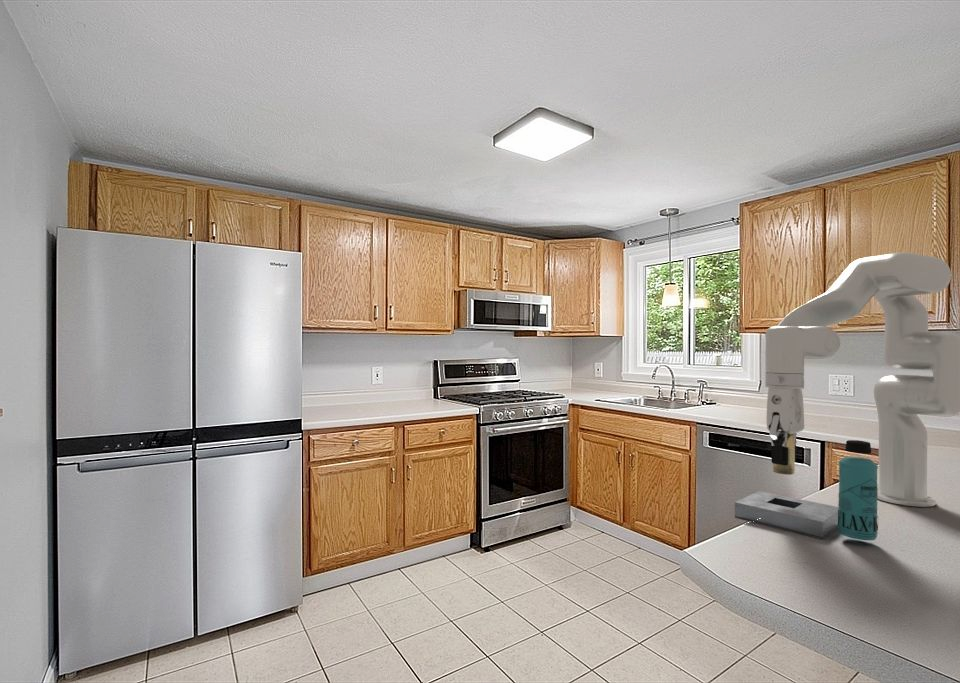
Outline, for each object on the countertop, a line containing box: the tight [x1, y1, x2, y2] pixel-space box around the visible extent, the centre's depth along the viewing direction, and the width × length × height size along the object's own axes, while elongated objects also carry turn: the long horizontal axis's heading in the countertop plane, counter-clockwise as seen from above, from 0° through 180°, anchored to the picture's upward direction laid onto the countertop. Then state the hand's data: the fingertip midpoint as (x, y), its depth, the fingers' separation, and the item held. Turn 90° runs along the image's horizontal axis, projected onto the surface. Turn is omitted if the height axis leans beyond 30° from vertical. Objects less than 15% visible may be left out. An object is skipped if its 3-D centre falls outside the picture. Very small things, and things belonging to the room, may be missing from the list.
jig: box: [734, 490, 839, 540], centre depth 113 cm, size 14×17×4 cm
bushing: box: [772, 430, 796, 476], centre depth 115 cm, size 4×4×9 cm
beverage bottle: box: [837, 439, 879, 541], centre depth 101 cm, size 6×7×20 cm
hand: (783, 461), depth 115 cm, fingers closed on bushing, 4 cm apart
